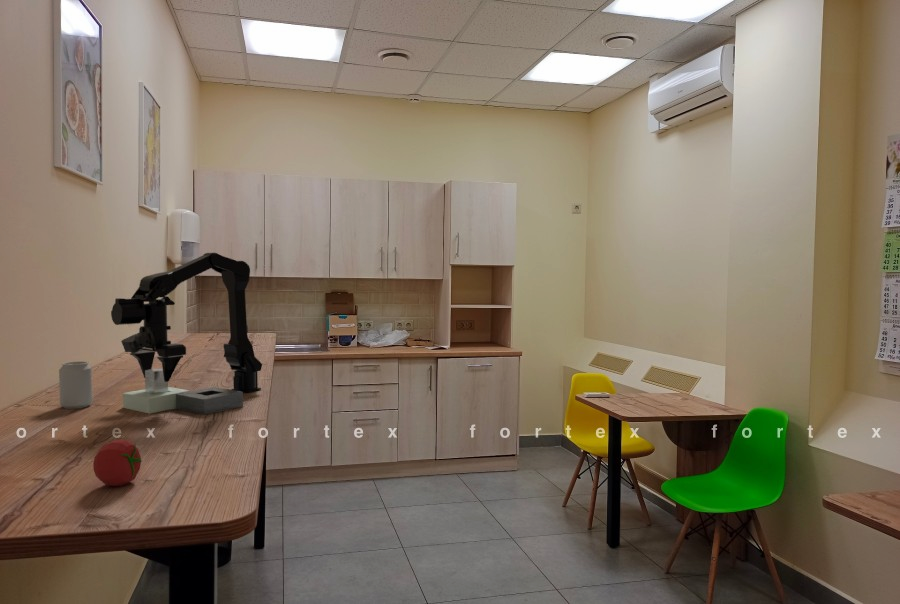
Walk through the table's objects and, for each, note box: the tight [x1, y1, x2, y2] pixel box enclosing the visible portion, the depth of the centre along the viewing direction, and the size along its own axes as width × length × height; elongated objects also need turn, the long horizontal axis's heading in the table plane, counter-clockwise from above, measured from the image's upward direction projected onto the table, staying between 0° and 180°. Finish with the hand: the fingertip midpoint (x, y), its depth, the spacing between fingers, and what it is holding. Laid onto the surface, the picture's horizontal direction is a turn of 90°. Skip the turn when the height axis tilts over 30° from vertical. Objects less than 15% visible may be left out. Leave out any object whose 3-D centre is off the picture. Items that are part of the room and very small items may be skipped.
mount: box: [175, 386, 244, 416], centre depth 167 cm, size 12×12×4 cm
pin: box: [144, 367, 169, 395], centre depth 168 cm, size 4×4×10 cm
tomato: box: [92, 439, 143, 487], centre depth 108 cm, size 8×8×8 cm
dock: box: [122, 386, 191, 414], centre depth 168 cm, size 12×12×4 cm
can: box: [58, 360, 93, 410], centre depth 167 cm, size 8×8×12 cm
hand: (156, 379), depth 168 cm, fingers open, 9 cm apart
